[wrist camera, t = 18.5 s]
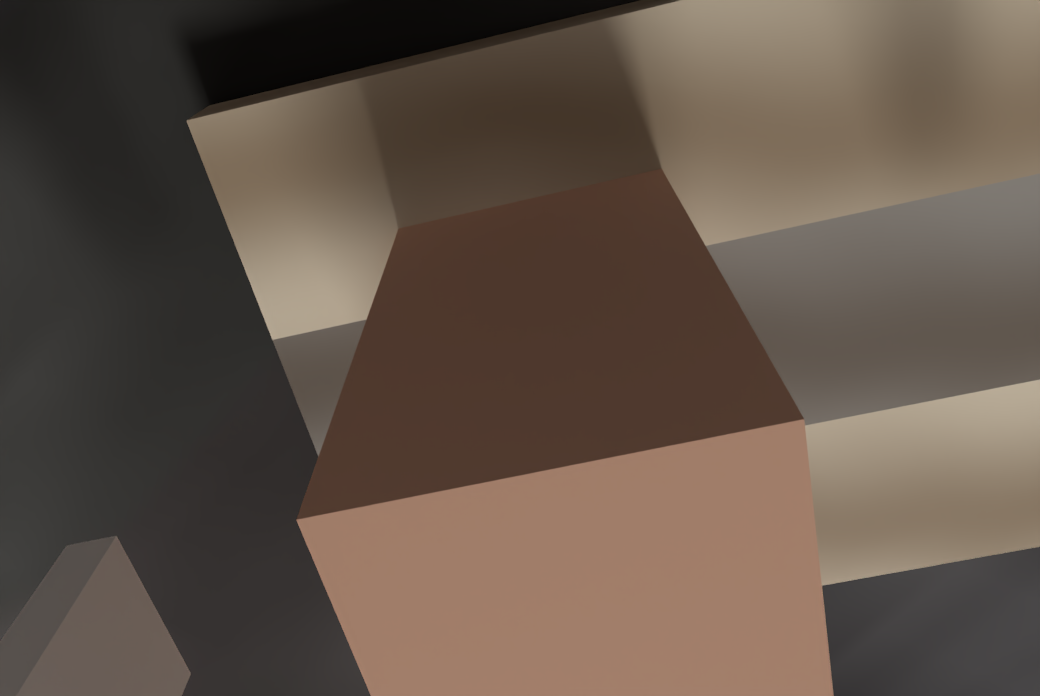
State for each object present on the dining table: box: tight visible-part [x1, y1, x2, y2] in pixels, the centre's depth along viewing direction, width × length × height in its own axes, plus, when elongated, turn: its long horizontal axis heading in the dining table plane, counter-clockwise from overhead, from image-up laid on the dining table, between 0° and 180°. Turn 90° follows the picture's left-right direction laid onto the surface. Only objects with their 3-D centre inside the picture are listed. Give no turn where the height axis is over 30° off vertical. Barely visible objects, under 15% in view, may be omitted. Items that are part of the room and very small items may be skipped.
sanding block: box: [296, 169, 833, 696], centre depth 13 cm, size 7×4×8 cm, turn 13°
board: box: [186, 0, 1040, 585], centre depth 16 cm, size 12×22×1 cm, turn 103°
